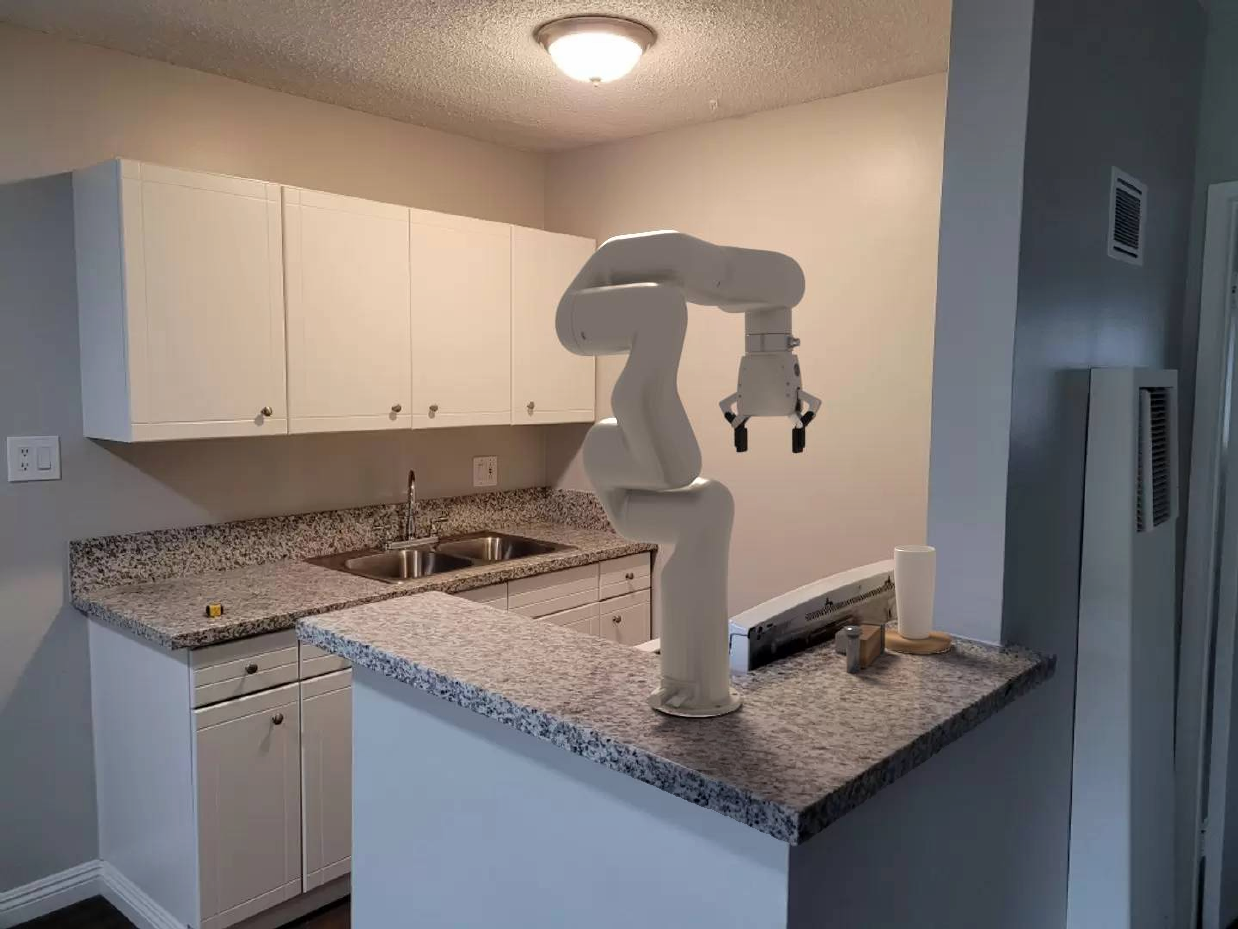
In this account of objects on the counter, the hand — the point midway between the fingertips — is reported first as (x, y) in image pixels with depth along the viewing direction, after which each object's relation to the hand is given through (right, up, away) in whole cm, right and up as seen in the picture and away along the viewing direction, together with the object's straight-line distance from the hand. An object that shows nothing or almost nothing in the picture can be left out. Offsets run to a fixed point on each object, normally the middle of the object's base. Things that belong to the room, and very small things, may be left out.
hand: (769, 452), depth 146 cm
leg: (+15, -33, -2) cm, 36 cm away
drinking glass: (+25, -31, +5) cm, 40 cm away
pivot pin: (+11, -34, -9) cm, 37 cm away
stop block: (+13, -33, +3) cm, 36 cm away
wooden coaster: (+26, -32, +5) cm, 42 cm away
